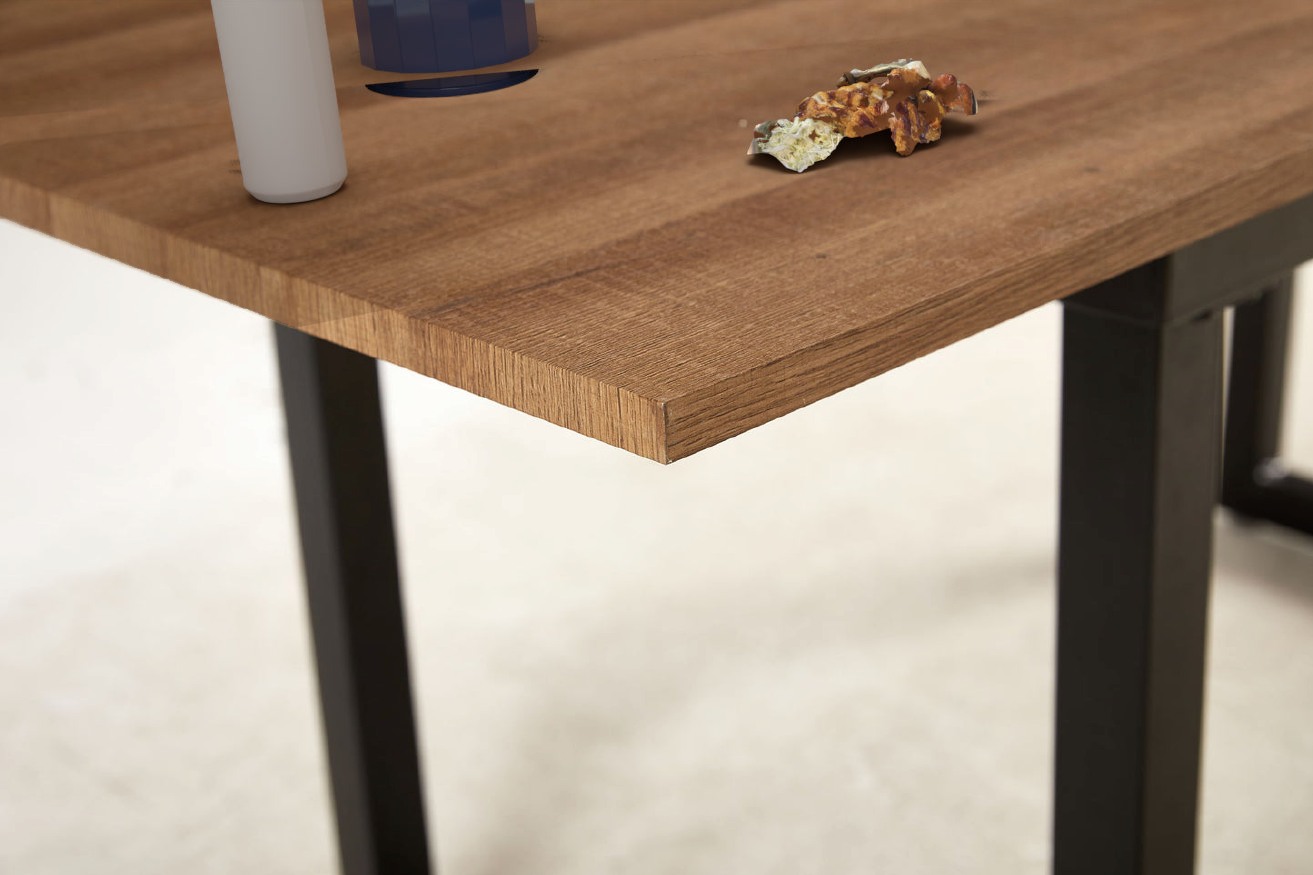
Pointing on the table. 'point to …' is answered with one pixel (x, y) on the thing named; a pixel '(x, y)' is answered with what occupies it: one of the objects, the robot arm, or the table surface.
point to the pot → (445, 43)
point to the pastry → (866, 113)
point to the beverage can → (281, 97)
